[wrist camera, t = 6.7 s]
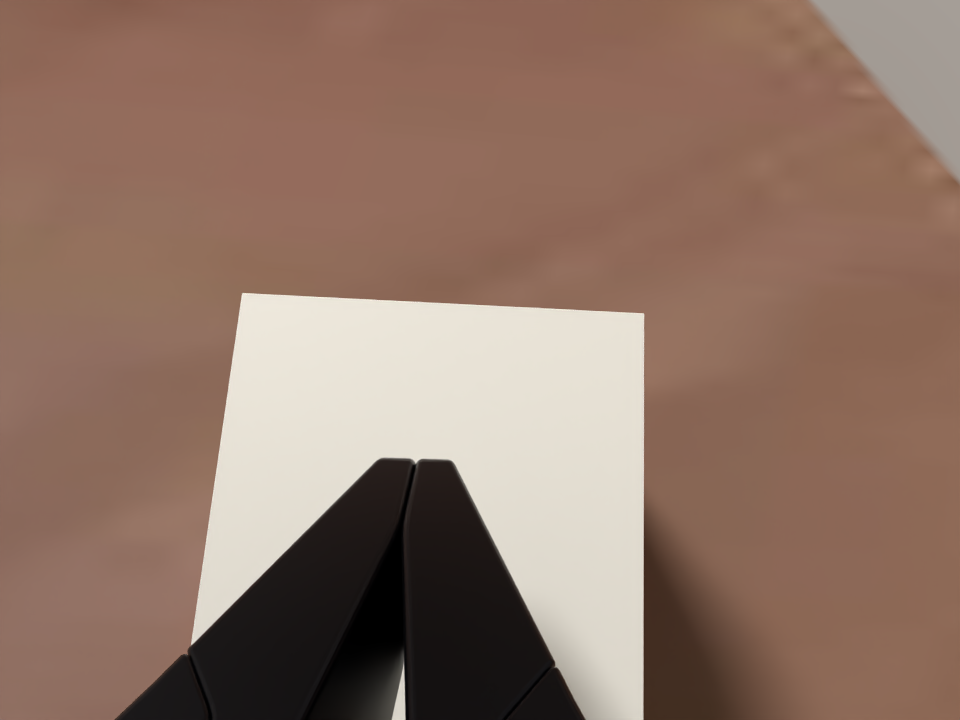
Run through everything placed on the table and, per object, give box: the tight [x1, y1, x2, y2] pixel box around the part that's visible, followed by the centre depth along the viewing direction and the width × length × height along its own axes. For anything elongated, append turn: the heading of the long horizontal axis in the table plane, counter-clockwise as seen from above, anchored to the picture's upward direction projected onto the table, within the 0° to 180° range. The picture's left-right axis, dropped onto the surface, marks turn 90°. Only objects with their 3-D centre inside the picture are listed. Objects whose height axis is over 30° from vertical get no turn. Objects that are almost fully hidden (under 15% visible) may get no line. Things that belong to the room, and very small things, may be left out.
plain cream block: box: [191, 293, 644, 720], centre depth 15 cm, size 6×6×8 cm
